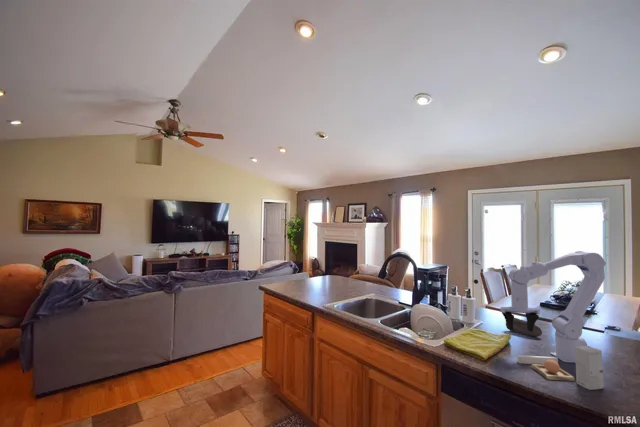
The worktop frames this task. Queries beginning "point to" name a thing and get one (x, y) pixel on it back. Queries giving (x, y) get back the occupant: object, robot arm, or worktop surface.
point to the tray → (553, 376)
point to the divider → (534, 359)
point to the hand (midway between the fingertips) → (520, 330)
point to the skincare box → (589, 367)
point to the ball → (552, 366)
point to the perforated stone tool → (524, 328)
